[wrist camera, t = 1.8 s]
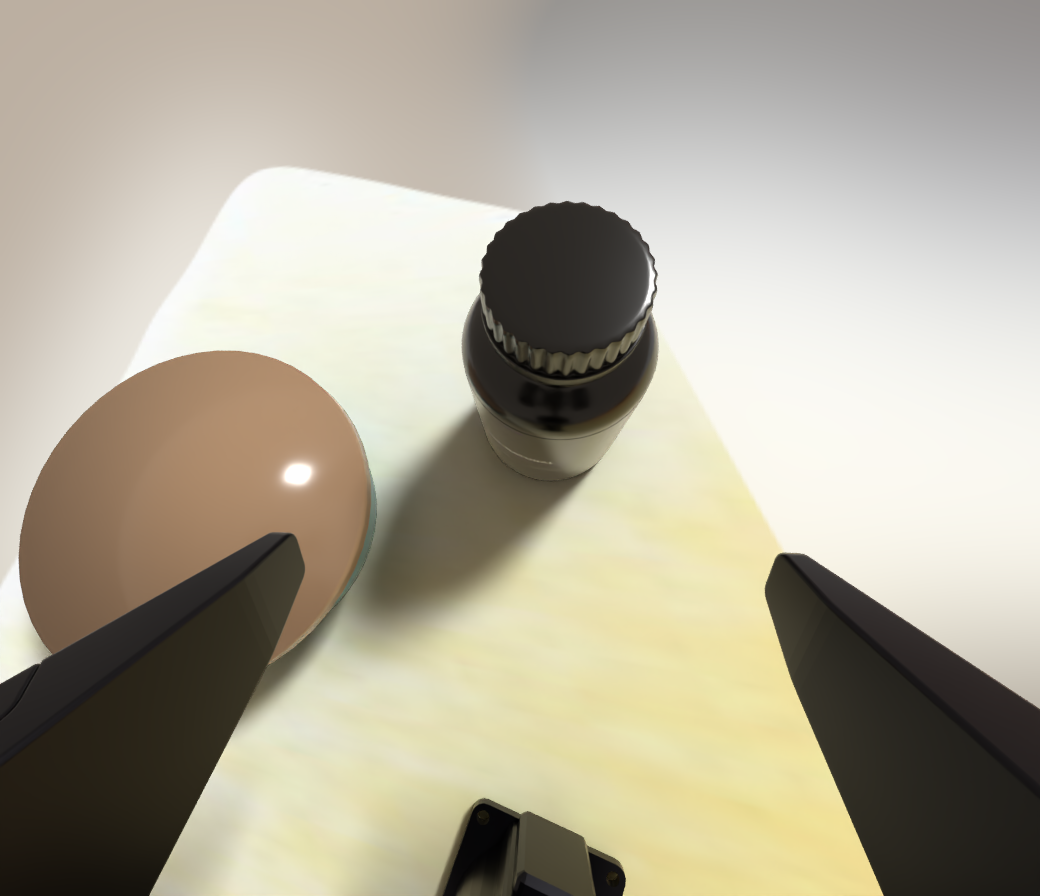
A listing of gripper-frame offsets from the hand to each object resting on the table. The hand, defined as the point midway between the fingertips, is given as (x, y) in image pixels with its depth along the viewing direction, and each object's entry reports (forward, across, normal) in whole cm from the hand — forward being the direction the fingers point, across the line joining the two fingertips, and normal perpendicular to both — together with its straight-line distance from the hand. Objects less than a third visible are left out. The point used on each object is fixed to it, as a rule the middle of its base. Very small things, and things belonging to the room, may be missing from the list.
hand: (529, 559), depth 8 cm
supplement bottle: (+15, -1, +4) cm, 16 cm away
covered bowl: (+11, +14, +8) cm, 19 cm away
